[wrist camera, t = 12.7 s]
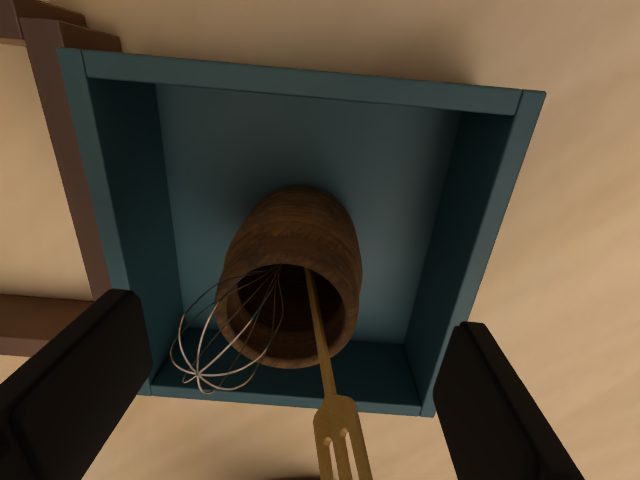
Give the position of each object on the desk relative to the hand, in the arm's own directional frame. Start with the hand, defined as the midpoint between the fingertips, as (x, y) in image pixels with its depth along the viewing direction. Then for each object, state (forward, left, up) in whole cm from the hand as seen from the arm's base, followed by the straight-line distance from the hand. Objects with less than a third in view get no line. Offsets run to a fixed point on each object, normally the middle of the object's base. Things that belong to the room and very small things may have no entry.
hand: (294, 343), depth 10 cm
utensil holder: (0, 0, -9) cm, 9 cm away
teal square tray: (0, 0, -9) cm, 9 cm away
